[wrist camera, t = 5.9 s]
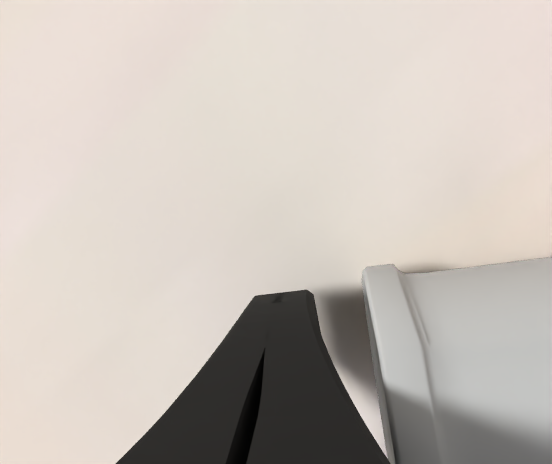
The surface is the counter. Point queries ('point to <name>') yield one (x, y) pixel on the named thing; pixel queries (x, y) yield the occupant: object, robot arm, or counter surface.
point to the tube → (463, 362)
